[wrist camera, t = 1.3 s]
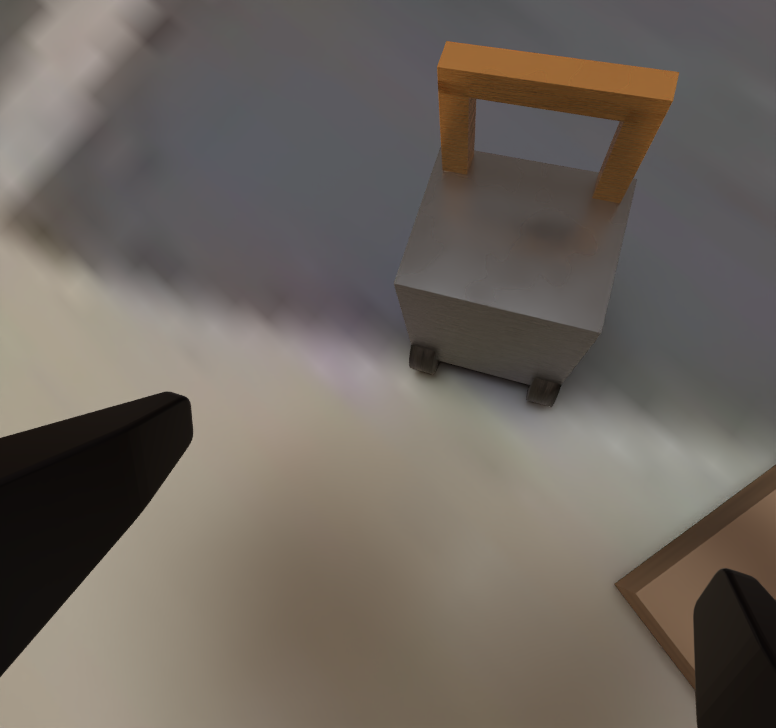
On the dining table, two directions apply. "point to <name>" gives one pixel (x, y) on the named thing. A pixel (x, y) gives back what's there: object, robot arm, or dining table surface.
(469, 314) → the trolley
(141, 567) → the dining table surface
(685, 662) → the dock
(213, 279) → the dining table surface
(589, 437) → the dining table surface
